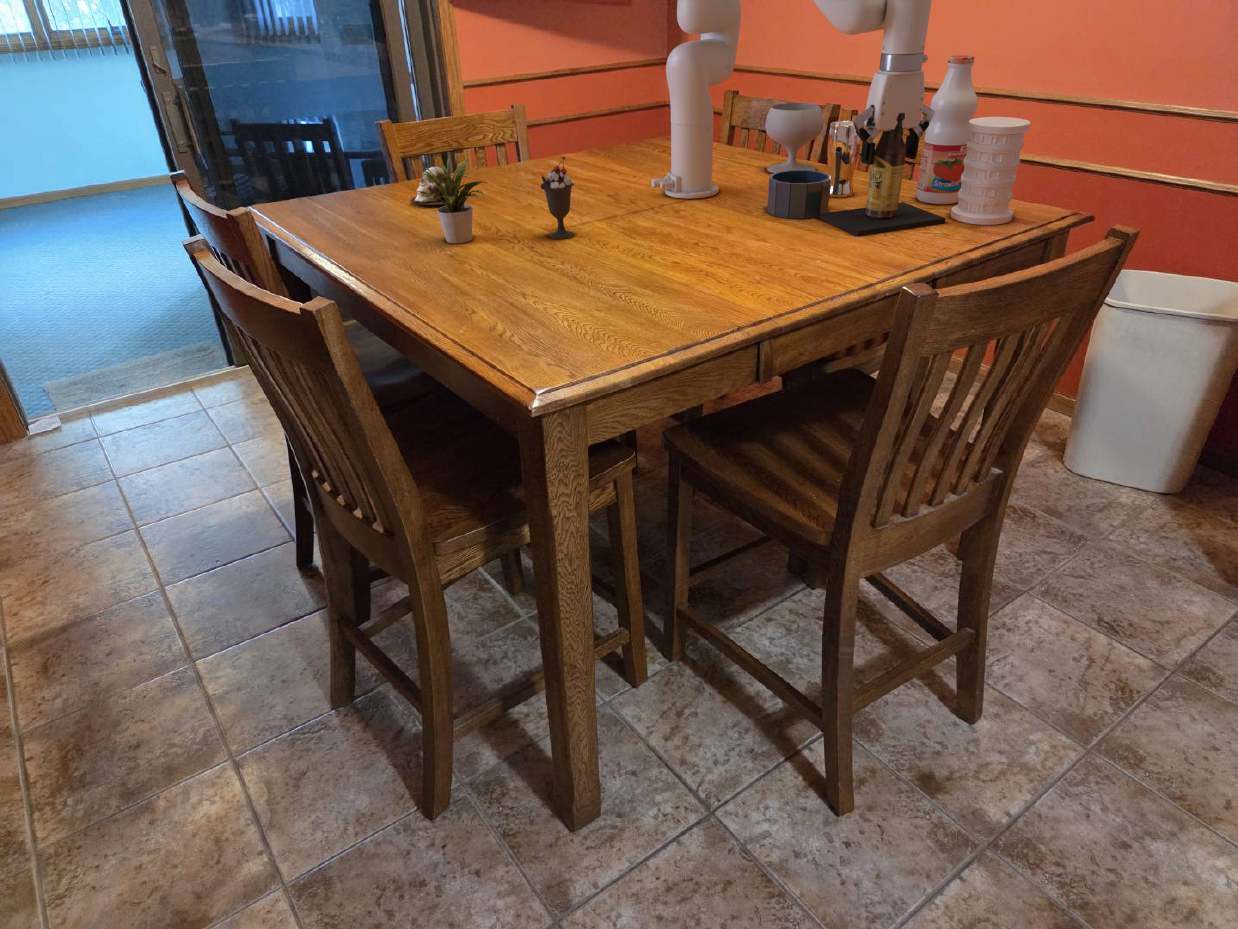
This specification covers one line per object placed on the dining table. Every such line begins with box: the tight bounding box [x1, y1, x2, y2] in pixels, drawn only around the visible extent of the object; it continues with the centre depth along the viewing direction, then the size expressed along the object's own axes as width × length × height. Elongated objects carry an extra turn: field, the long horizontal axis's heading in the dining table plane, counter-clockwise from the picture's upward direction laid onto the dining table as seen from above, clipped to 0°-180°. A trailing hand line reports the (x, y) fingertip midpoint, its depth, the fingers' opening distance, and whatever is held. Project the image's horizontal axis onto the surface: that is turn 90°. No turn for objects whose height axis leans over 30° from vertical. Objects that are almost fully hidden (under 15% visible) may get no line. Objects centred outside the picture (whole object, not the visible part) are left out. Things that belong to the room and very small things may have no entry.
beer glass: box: [826, 120, 862, 198], centre depth 180 cm, size 7×7×15 cm
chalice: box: [764, 102, 824, 174], centre depth 202 cm, size 14×14×15 cm
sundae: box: [540, 156, 575, 240], centre depth 162 cm, size 7×7×15 cm
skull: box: [410, 166, 459, 206], centre depth 193 cm, size 12×10×10 cm
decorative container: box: [950, 116, 1031, 226], centre depth 160 cm, size 12×12×18 cm
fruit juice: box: [915, 54, 979, 205], centre depth 169 cm, size 9×9×28 cm
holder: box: [766, 170, 831, 220], centre depth 172 cm, size 13×13×7 cm
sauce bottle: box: [865, 113, 906, 218], centre depth 159 cm, size 7×6×20 cm
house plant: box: [415, 156, 485, 244], centre depth 161 cm, size 14×14×16 cm
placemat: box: [819, 201, 946, 237], centre depth 165 cm, size 20×14×1 cm
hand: (888, 160), depth 159 cm, fingers open, 9 cm apart
